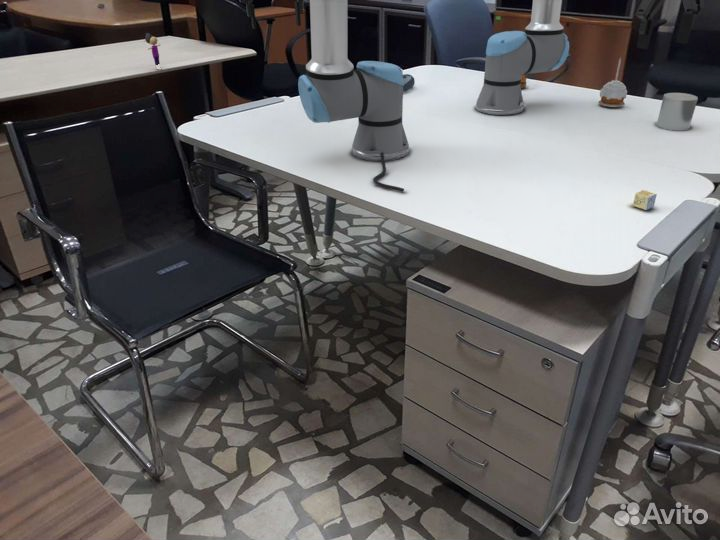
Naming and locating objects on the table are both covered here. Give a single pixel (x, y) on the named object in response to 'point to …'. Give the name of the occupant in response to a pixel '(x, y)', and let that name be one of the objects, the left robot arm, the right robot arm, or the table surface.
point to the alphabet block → (644, 200)
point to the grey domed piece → (613, 92)
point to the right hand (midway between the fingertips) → (662, 45)
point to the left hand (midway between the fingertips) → (276, 27)
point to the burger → (523, 81)
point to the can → (677, 111)
